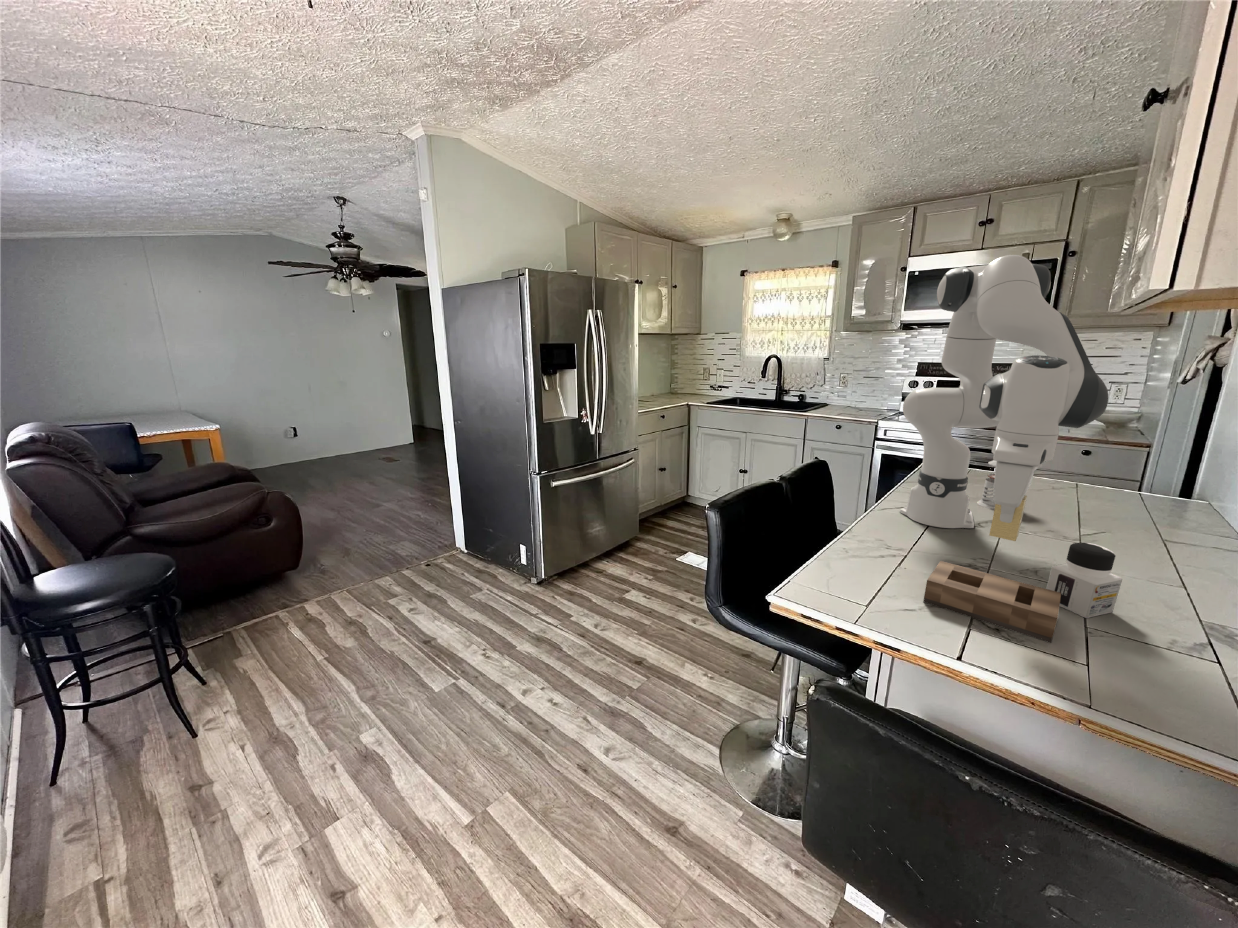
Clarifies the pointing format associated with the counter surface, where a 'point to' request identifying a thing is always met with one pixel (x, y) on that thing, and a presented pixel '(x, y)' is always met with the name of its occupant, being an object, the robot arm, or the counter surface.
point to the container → (1086, 580)
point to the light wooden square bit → (1007, 529)
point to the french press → (989, 483)
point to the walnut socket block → (994, 600)
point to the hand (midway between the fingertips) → (1007, 517)
